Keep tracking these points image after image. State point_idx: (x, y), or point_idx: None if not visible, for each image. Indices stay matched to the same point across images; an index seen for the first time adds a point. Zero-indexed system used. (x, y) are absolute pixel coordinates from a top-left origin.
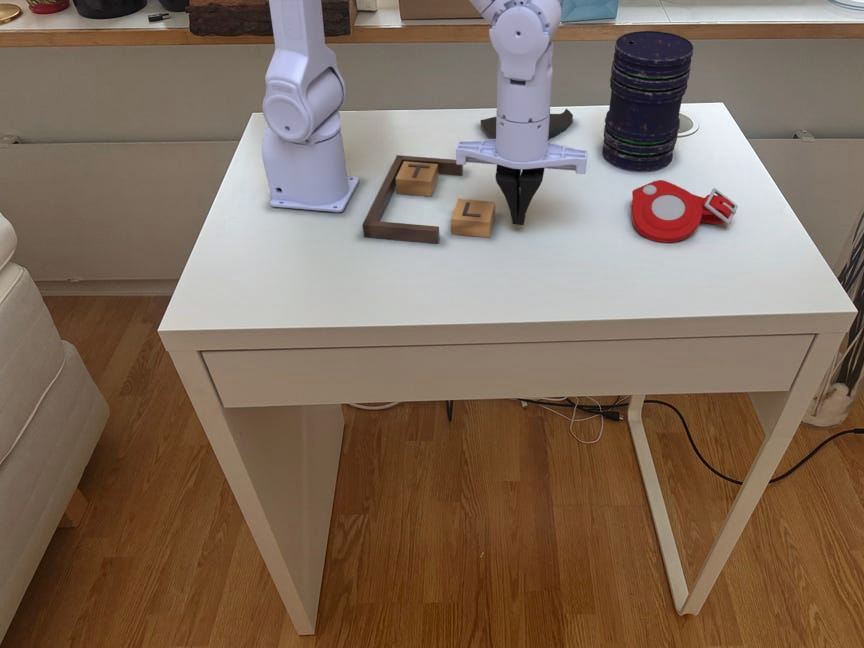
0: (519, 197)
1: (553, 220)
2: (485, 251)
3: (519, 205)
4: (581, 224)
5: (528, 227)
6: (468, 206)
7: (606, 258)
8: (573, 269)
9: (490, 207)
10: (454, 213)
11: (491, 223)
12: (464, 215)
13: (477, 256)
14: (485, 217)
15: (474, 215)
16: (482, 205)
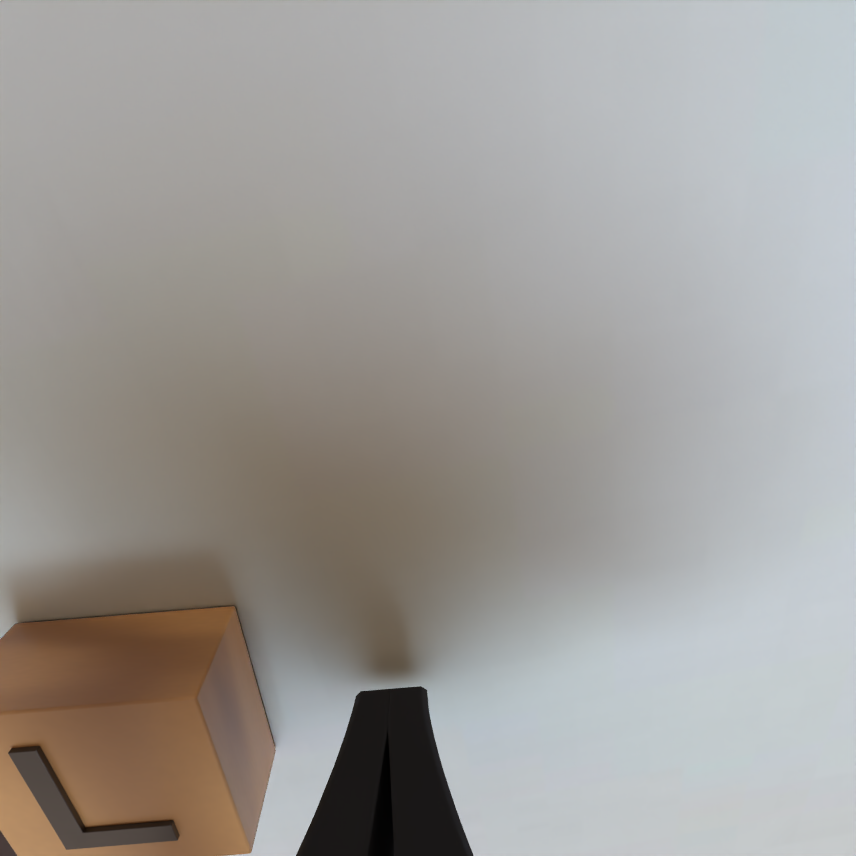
0: (377, 826)
1: (576, 559)
2: (293, 816)
3: (386, 784)
4: (737, 560)
5: (445, 642)
6: (52, 784)
7: (815, 753)
8: (667, 826)
9: (194, 754)
10: (14, 841)
11: (252, 754)
12: (82, 847)
13: (272, 843)
14: (210, 831)
15: (140, 842)
16: (133, 750)
